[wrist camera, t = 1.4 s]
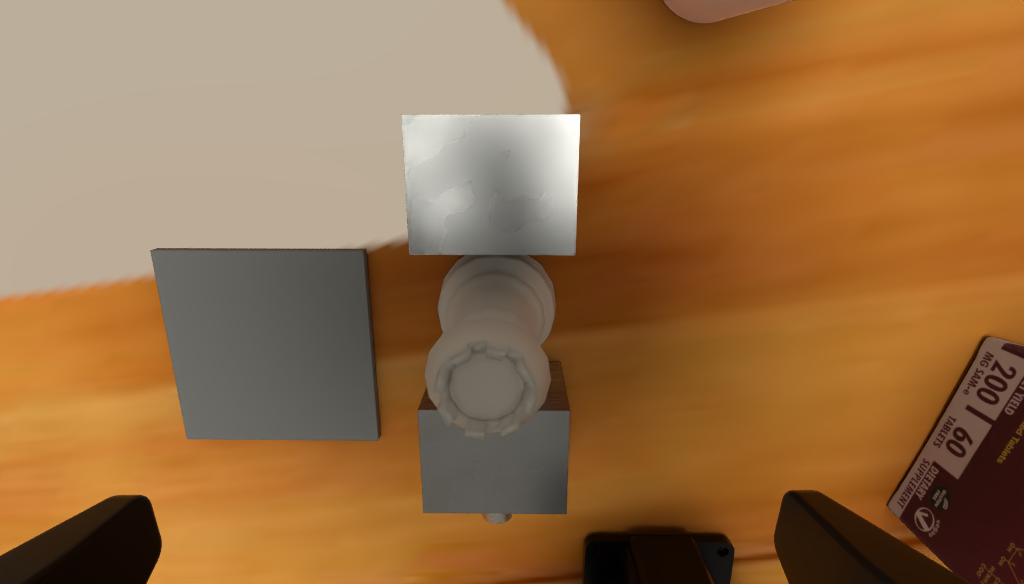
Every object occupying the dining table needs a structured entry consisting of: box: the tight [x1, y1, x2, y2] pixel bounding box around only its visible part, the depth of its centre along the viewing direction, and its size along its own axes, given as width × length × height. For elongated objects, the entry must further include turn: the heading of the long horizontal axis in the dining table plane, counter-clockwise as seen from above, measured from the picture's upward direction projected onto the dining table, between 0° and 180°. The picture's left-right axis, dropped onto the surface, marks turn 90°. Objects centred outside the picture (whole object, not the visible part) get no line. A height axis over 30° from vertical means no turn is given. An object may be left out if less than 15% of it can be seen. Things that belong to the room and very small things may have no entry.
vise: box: [402, 115, 580, 524], centre depth 18 cm, size 15×5×4 cm, turn 0°
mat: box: [151, 248, 381, 441], centre depth 20 cm, size 8×8×1 cm
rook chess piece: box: [424, 255, 556, 441], centre depth 16 cm, size 4×4×8 cm
